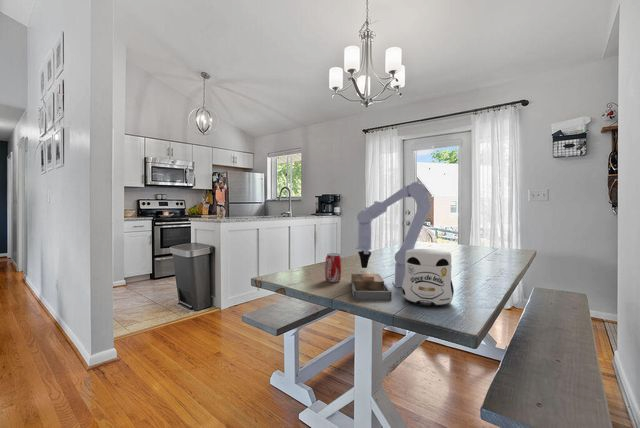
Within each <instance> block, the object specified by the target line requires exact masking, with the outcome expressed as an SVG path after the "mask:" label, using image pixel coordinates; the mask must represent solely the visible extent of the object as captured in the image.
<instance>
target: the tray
mask: <svg viewBox="0 0 640 428" xmlns="http://www.w3.org/2000/svg"><path fill="white" fill-rule="evenodd" d="M351 293H352V298H353V300H355V301H358V300H359V301H360V300H361V301H362V300H363V301H366V300H367V301H377V300H378V301H392V296H393V294H392V293H393V292H392V291H391V289H390V287H389V285H387V284H385V283H384V291H356V289H355V286H354V284H352V283H351Z"/></svg>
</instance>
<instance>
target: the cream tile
mask: <svg viewBox="0 0 640 428" xmlns="http://www.w3.org/2000/svg"><path fill="white" fill-rule="evenodd" d="M359 274H360V275H361V277H362V274H373V272H372V271H367V270H366V271H364V270H363V271H362V270H361V271H360V273H359Z"/></svg>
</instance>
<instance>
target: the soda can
mask: <svg viewBox="0 0 640 428" xmlns="http://www.w3.org/2000/svg"><path fill="white" fill-rule="evenodd" d="M324 267H325V269H324V270H325V272H324V276H325V277H324V278H325V280H326V281H327V282H329V283H338V282H340V281H341V278H342V258H341V254H340V253H337V252H336V253H333V252H332V253H331V252H329V253H327V255H326V257H325V266H324Z"/></svg>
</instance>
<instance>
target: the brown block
mask: <svg viewBox="0 0 640 428" xmlns="http://www.w3.org/2000/svg"><path fill="white" fill-rule="evenodd" d="M372 274H373V276H374V280H362V277H361V275H360V273H351V277H350V278H351V281H350V283H351V285H352V284H354V286H355V289H356V291H384V284H385V280H384V279H383V278H382V277H381V274H379V273H372Z"/></svg>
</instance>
